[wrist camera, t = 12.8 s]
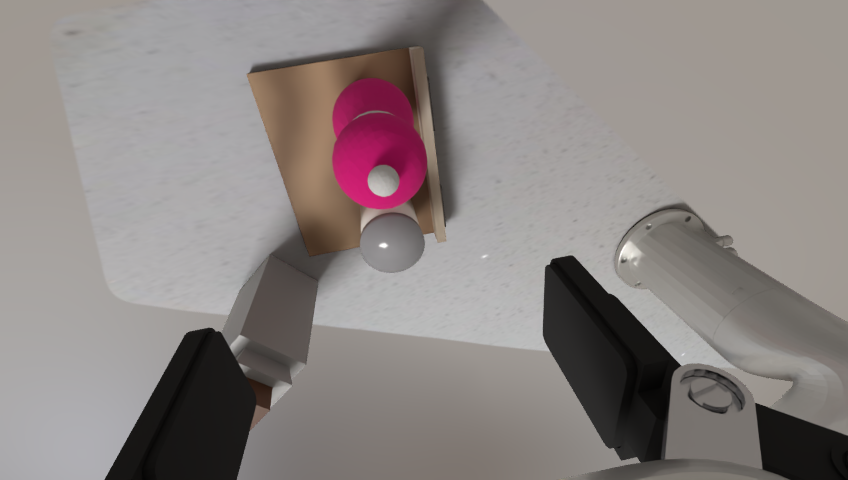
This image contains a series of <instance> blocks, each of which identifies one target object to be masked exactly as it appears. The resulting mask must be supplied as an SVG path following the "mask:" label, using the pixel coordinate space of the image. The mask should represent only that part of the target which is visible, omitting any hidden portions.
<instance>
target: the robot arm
mask: <svg viewBox="0 0 848 480" xmlns="http://www.w3.org/2000/svg"><path fill="white" fill-rule="evenodd" d="M732 243H733V239H732V237H730V236H728V235H726V236H721V237H718V238H714V237H712V236H711V235H709V234H707V233H706V232H705V229H704V226H703V224H702V222H701V221H700V219H699V218H698V217H696V216H695V215H693V214H692V213H690V212H688V211H686V210H681V209H668V210H663V211H660V212H657V213H654V214H652V215H650V216H648V217H646V218H644V219H643V220H642V221H640V222H639V223H637V224H636V225H635V226H634V227H633V228H632V229H631V230H630V231H629V232H628V233H627V234H626V236H625V237H624V238H623V240H622V241H621V243H620V245H619V247H618V249H617V252H616V256H615V269H616V273H617V274H618V276H619V278H620V279H621V280H622V281H623V282H624V283H626V284H627V285H629V286H630V287H633V288H637V289H649V290H650V291H651V292H652V293H653V294H654V295H655V296H656V297H657V298H659V299H660V300H661V301H662V302H663V303H664V304H665V305H666V306H667V307H668V308H669V309H671V310H672V311H673V312H674V313H675V314H676V315H677V316H678V317H679V318H680V319H682V320H683V321H684V322H685V323H686V324H687V325H688V326H689V327H690V328H691V329H692V330H694V331H695V332H696V333H697V334H698V335H699V336H700V337H701V338H702V339H703V340H704V341H706V342H707V343H708V344H709V345H710V346H711V347H712V348H713V349H714V350H715V351H717V352H718V353H719V354H720V355H721V356H722V357H723V358H724V359H725V360H727V361H728V362H729V363H730V364H732V365H733V366H735V367H737V368H738V369H740V370H743V371H745V372H747V373H750V374H753V375H757V376H761V377H766V378H772V379H779V380H785V381H792V382H793V386H792V387H791V388H790V389H789V390H788V391H787V392H786V393H785V394H784V395H783V396H782V398H781V399H779V400H778V401H777V402H775V403H774V404H773V405H772V406H770V407H769V408H768V407H766V406H763V405H760V404H757V403H755V402H754V399H753V396H752V394H751V392H750V391H749V390H748V389H747V387H746V386H745V385H744V384H743V383H742V382H741V381H739V380H738V379H737V378H736V377H734V376H732V375H731V374H729V373H727V372H725V371H724V370H721V369H719V368H716V367H713V366H710V365H704V364H687V365H684V366H681V365H680V364H679V363H678V362H677V361H676V360H675V359H674V358H673V357H672V356H671V355H670V353H669V352H668V351H667V350H666V349H665V348H664V347H663V346H662V345H661V344H660V343H659V342H658V341H657V340H656V339H655V338H654V337H653V335H652V334H651V333H650V332H649V331H648V330H647V329H646V328H645V327H644V326H643V325H642V324H641V323H640V322H639V321H638V320H637V318H636V317H635V316H634V315H633V314H632V313H631V312H630V311H629V310H628V309H627V308H626V307H625V306H624V305H623V304H622V303H621V302H620V300H619V299H618V298H616V297H615V296H614V295H612V294H608V293H607V292H606V291H605V289H604V288H603V287H602V286H601V285H600V284H599V283H598V282H597V281H596V280H595V279H594V278H593V277H592V275H591V274H590V273H589V272H588V271H587V270H586V269H585V268H584V267H583V266H582V265H581V264H580V262H579V261H578V260H577V259H576V258H575V257H574V256H571V255H570V256H565V257H560V258H555V259H552V260H551V262H550V265H547V266H546V267H545V287H544V313H543V337H544V340H545V343H546V345H547V346H548V348H549V350H550V352H551V353H552V355H553V357H554V358H555V360H556V362H557V363H558V365H559V367H560V368H561V370H562V372H563V373H564V375H565V377H566V379H567V381H568V382H569V384H570V386H571V387H572V389H573V391H574V392H575V394H576V396H577V398H578V399H579V401H580V403H581V404H582V406H583V408H584V409H585V411H586V413H587V415H588V416H589V418H590V420H591V421H592V423H593V425H594V427H595V428H596V430H597V432H598V433H599V435H600V437H601V439H602V440H603V442H604V443H605V445H606V446H607V447H608V448H614V449H615V451H616V452H617V454H618V456H619V457H620V459H621V460H626V459H630V458H634V457H637V458H638V459H639V461H640V462H641V463H637V464H630V465H625V466H620V467H615V468H610V469H606V470H601V471H596V472H592V473H587V474H582V475H578V476H573V477H569V478H564V479H559V480H848V322H846V321H845V320H843V319H841V318H839V317H837V316H836V315H834V314H832V313H830V312H829V311H827V310H825V309H823V308H822V307H820V306H818V305H817V304H815V303H813V302H812V301H810V300H808V299H806V298H805V297H803V296H802V295H800V294H798V293H797V292H795V291H794V290H792V289H790V288H788V287H787V286H785V285H784V284H782V283H780V282H779V281H777V280H776V279H774V278H772V277H771V276H769V275H767V274H766V273H764V272H762V271H761V270H759V269H758V268H756V267H754V266H753V265H751V264H750V263H748V262H746V261H745V260H743V259H741V258H740V257H738V254H737V252H736V250H735V249H734V248H731V247H729V248H723V246H728V245H731V244H732ZM256 402H257V400H256V394H255V392H254V390H253V388H252V387H251V385H250V383H249V381H248V379H247V378H246V376H245V374H244V372H243V370H242V369H241V367H240V365H239V363H238V361H237V360H236V358H235V356H234V354H233V352H232V351H231V349H230V347H229V345H228V343H227V342H226V340H225V338H224V336H223V335H222V333H221V332H219V331H218V332H216V331H215V330H214V329H213V328H205V329H200V330H195V331H190V332H188V333H186V335H185V336H184V338H183V340H182V342H181V343H180V345H179V347H178V349H177V350H176V353H175V354H174V356H173V358H172V359H171V361H170V363H169V365H168V367H167V369H166V370H165V372H164V374H163V375H162V377H161V379H160V381H159V383H158V385H157V387H156V388H155V390H154V392H153V393H152V395H151V397H150V399H149V401H148V403H147V404H146V406H145V408H144V410H143V411H142V413H141V415H140V417H139V419H138V420H137V422H136V424H135V426H134V428H133V429H132V431H131V433H130V435H129V437H128V438H127V440H126V442H125V444H124V446H123V447H122V449H121V451H120V453H119V455H118V456H117V458H116V460H115V462H114V464H113V466H112V467H111V469H110V471H109V473H108V475H107V476H106V478H105V480H237V476H238V472H239V469H240V465H241V461H242V457H243V454H244V450H245V446H246V442H247V439H248V435H249V431H250V427H251V424H252V420H253V416H254V412H255V409H256Z"/></svg>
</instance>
